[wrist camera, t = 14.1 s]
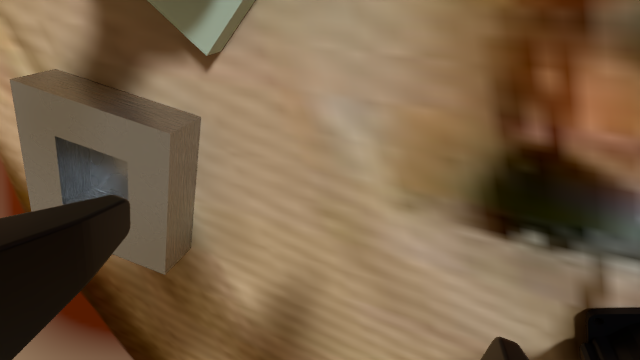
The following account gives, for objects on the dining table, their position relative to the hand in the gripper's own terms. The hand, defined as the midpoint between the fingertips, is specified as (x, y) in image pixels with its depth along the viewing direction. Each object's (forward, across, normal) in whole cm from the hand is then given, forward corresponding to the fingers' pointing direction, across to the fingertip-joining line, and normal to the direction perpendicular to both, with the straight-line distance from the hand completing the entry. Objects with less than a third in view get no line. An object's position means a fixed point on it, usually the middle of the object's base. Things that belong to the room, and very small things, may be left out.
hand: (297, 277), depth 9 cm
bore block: (+13, +15, +8) cm, 21 cm away
